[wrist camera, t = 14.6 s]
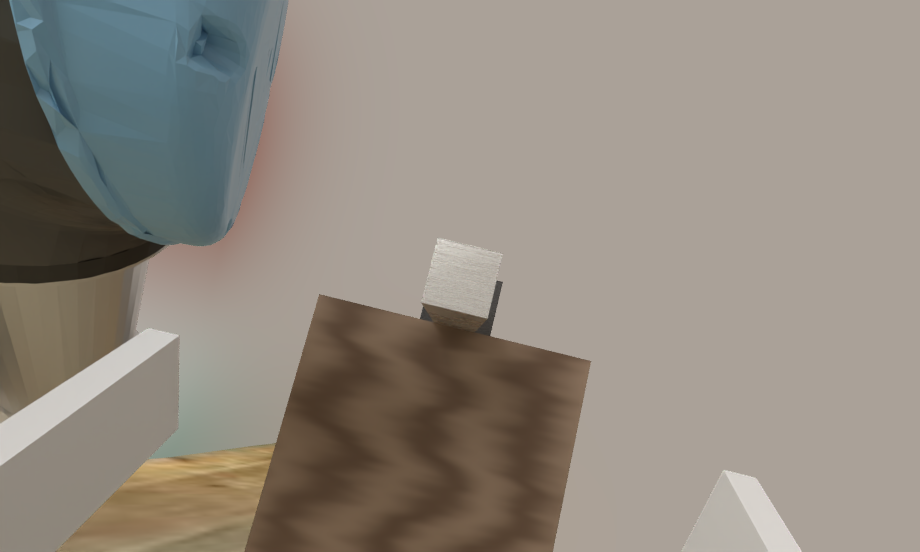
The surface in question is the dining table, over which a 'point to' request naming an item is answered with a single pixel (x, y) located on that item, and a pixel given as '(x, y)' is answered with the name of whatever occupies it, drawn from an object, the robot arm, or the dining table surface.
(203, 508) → the dining table surface
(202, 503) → the dining table surface
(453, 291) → the light grey rectangular bar
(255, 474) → the dining table surface
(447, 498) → the pedestal
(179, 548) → the dining table surface
